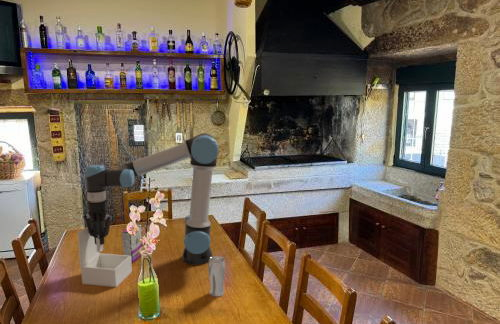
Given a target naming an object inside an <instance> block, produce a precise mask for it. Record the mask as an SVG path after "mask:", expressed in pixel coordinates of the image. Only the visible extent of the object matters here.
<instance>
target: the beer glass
mask: <svg viewBox="0 0 500 324" xmlns="http://www.w3.org/2000/svg"><path fill="white" fill-rule="evenodd" d="M225 262H226V261H225V258H224V257H223V256H220V255H214V256H212V257H211V258H209V262H208V264H207V265H208V268H207V269H208V270H207V271H208V278H209V283H210V290H209V295H210V296H212V297H214V298H217V297H222V296H224V294H225V288H224V281H225V277H226V276H225V274H226V263H225Z"/></svg>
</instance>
